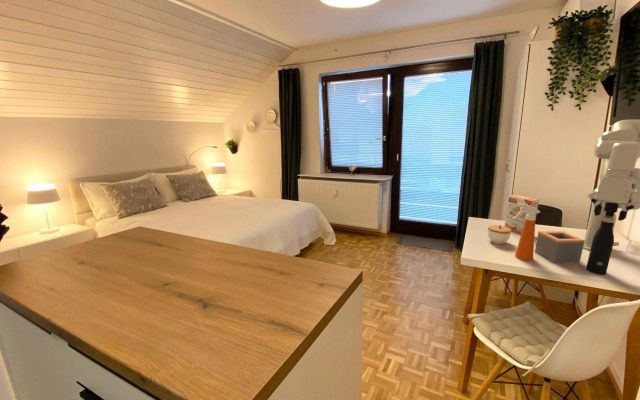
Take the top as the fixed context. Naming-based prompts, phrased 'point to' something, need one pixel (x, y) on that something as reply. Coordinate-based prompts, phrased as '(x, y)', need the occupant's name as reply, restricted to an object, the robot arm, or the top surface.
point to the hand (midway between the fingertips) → (608, 217)
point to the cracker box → (514, 209)
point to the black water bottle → (602, 242)
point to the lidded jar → (498, 234)
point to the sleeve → (559, 246)
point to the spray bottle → (527, 233)
